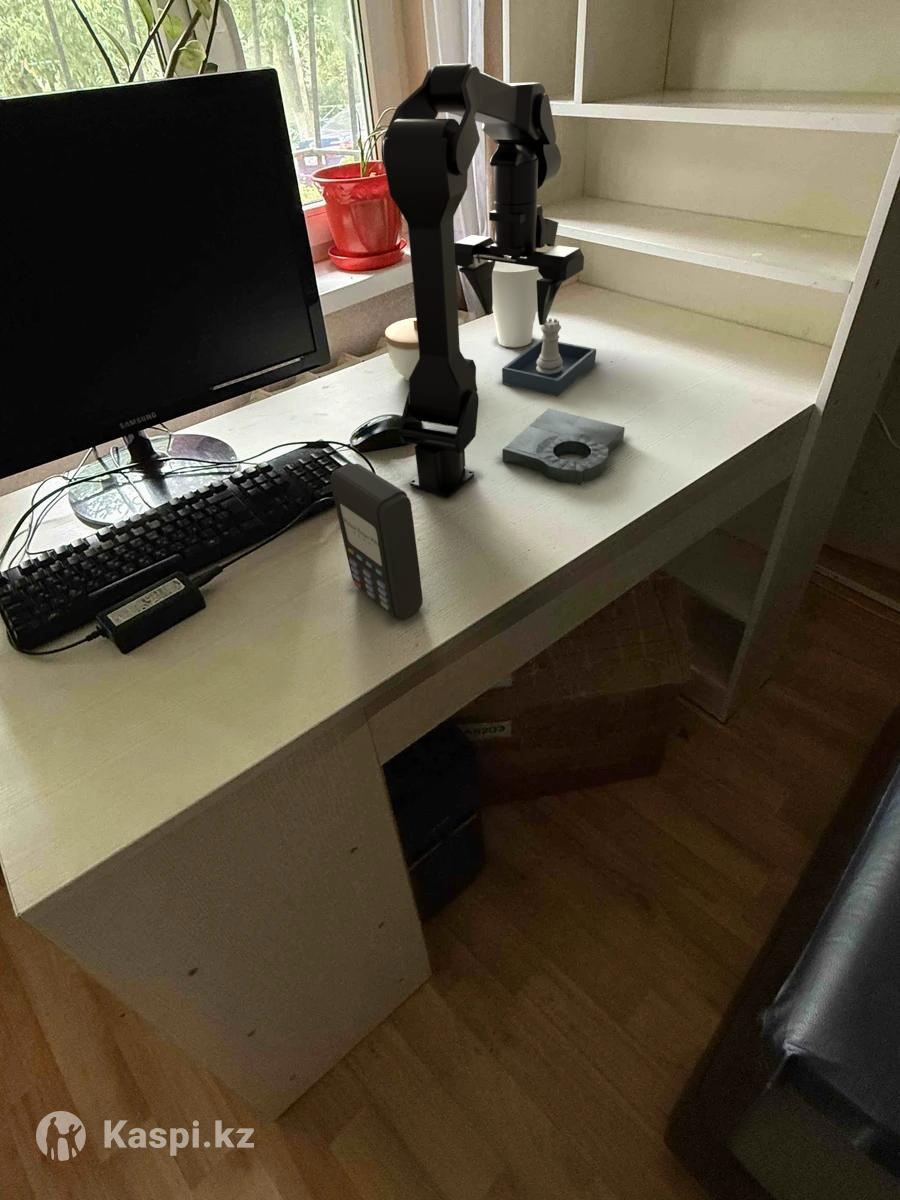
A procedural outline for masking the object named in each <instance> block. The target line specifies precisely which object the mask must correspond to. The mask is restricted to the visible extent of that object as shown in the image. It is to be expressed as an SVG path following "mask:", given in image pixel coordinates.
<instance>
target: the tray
mask: <svg viewBox="0 0 900 1200" xmlns="http://www.w3.org/2000/svg"><path fill="white" fill-rule="evenodd" d="M542 345H543V339H542V338H541V339H540V340H538V341H537V342H535V343H534V344H533V345H531V346H530V347H529V348H527V349H526V350H525V351H523V352H522V353H520V354H519V355H518V356H516V357H515V358H513V360H511V361H510V362H509V363H507V364H506V365H505V366H503V367H502V368H501V380H502V382H501V383H502V384H504V385H508V386H511V387H516V388H519V389H525V390H529V391H532V392H537V393H542V394H546V395H550V396H553V397H559V396H560V395H562V394H563V393H564V392H565V391H566V390H567V389H568V388H569V387H570V386H572V385H573V384H574V383H575V382H576V381H578V380H579V379H580V378H581V377H582V376H583V375H584V374H586V373H587V372H588V371H589V370H590V369H591V368H592V367H594V366H595V365H596V357H597V348H592V347H587V346H582V345H578V344H572V343H568V342H567V343H566V342H562V341H558V350H559V354H560V357H561V358H562V361H563V363H562V366H563V369H562V370H561V372H560V373H558V374H556V375H542V374H540V373H539V372H538V371H537V370H536V366H537V363H536V362H537V359H538V358H539V355H540V354H541V351H542Z"/></svg>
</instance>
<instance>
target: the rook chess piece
mask: <svg viewBox="0 0 900 1200" xmlns="http://www.w3.org/2000/svg"><path fill="white" fill-rule="evenodd" d="M561 329H562V326H561V324H560V320H558V319H557V318H554V319H552V318H548V319H546V322H545V324H543V325H540V330H541V331H542V335H541V339H543V345H542V351H541V354H540V355H539V358H538V359H537V362H536V363H537V366H536V370H537V371H538V372H539V373H540V374H542V375H556V374H558V373H560V372H561V370H562V369H563V366H562V363H563V361H562V358H561V357H560V354H559V350H558V342H559V339H560V335H559V332H560V330H561Z"/></svg>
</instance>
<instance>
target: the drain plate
mask: <svg viewBox="0 0 900 1200" xmlns="http://www.w3.org/2000/svg"><path fill="white" fill-rule="evenodd" d="M625 429H626V428H625V426H622V425H621V426H620V425H617V424H613V423H608V422H605V421H601V420H597V419H593V418H588V417H585V416H580V415H577V414H573V413H569V412H564V411H561V410H556V409H553V408H547V409H546V410H545V411H543V413H542V414H541V415H539V416H538V417H537V418H536V419H535V420H533V422H531V423H529V425H528V426H527V427H525V429H523V430H522V431H521V432H520V433H519V434H518V435H517V436H516V437H514V438H513V439H512V440H510V442H509V443H507V444H506V445H505V446H504V447H502V449H501V450H502V451H501V452H502V454H501V455H502V462H503V463H506V464H510V465H514V466H517V467H520V468H523V469H527V470H530V471H533V472H536V473H539V474H541V475H542V476H544V477H545V478H546V479H548V480H551V481H555V482H559V483H567V484H577V485H581V486H582V485H583V483H586V482H591V481H593V480H595V479H597V478H599V477H601V476H602V475H603V474H604V473H605V472H606V471H607V469H608V460H609V456H610V455H611V454H612V453H613V452H614V450H615V449H616V448H618V446H620V444H621V443H622V442H623V441H624V437H625ZM569 454H570V455H572V454H573V455H578V456H582V457H584V458H583V459H579V460H566V459H562V458H559V457H561V456H564V455H569Z"/></svg>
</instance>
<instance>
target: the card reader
mask: <svg viewBox="0 0 900 1200" xmlns="http://www.w3.org/2000/svg"><path fill="white" fill-rule="evenodd" d="M330 487H331V492H332V496H333V500H334V505H335V509H336V514H337V518H338V523H339V527H340V531H341V537H342V541H343V547H344V550H345V554H346V558H347V562H348V566H349V570H350V575H351V579H352V581H353V583H354V585H355V586H356V587H357V588H358V589H359V590H361V591H362V592H363V593H364V594H365V595H367V596H368V597H369V598H370V599H372V600H373V601H374V602H375V603H377V604H378V605H379V606H381V608H383V609H384V610H386V611H387V613H390V615H392V616H393V617H395V618H399V619H402V620H405V619H407V618H409V617H410V616H412V615H414V614H415V613H417V612H418V611H420V609H421V607H422V605H423V591H422V581H421V571H420V563H419V555H418V548H417V540H416V533H415V532H416V531H415V525H414V524H415V523H414V516H413V509H412V502H411V500H410V498H409V497H408V494H407V493H406V492H405V490H403V489H400V488H399V487H398V486H396V485H394V484H393V483H391V482H390V481H388V480H386V479H385V478H383V477H382V476H379V475H378V474H377V473H375V472H373V471H372V470H370V469H368V468H367V467H365V466H363V465H362V464H360V463H352V462H350V463H347V464H344V465H342V466H341V467H338V468H336V469H334V470H333V471H332V473H331V475H330Z"/></svg>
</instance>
